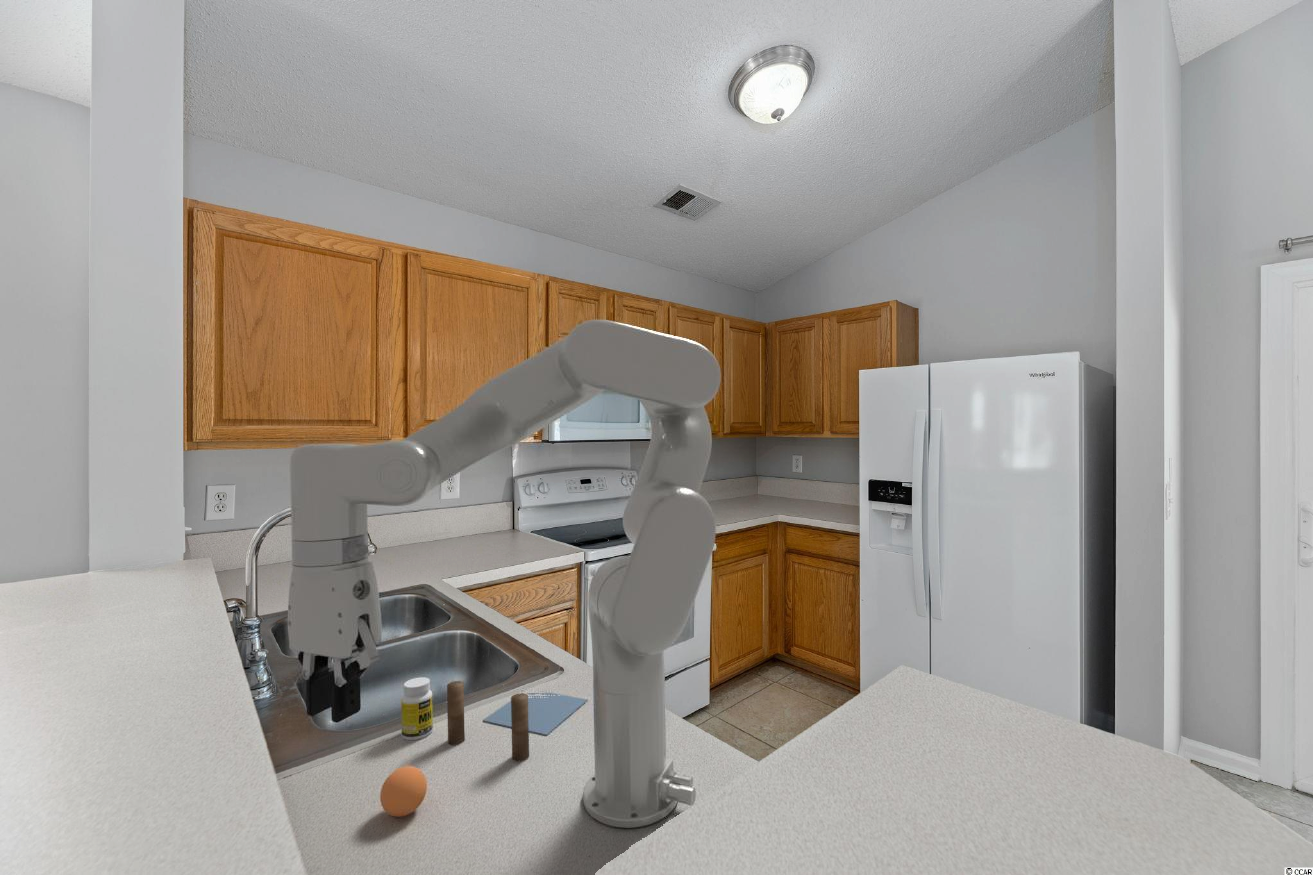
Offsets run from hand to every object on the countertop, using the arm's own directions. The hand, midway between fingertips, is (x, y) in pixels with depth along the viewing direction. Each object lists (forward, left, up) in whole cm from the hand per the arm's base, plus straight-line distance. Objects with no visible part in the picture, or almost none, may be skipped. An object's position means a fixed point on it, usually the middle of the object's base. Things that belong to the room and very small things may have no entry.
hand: (333, 711), depth 64 cm
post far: (+6, -26, -17) cm, 31 cm away
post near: (-6, -26, -17) cm, 31 cm away
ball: (0, -10, -15) cm, 17 cm away
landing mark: (0, -39, -17) cm, 42 cm away
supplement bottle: (+14, -25, -17) cm, 34 cm away
